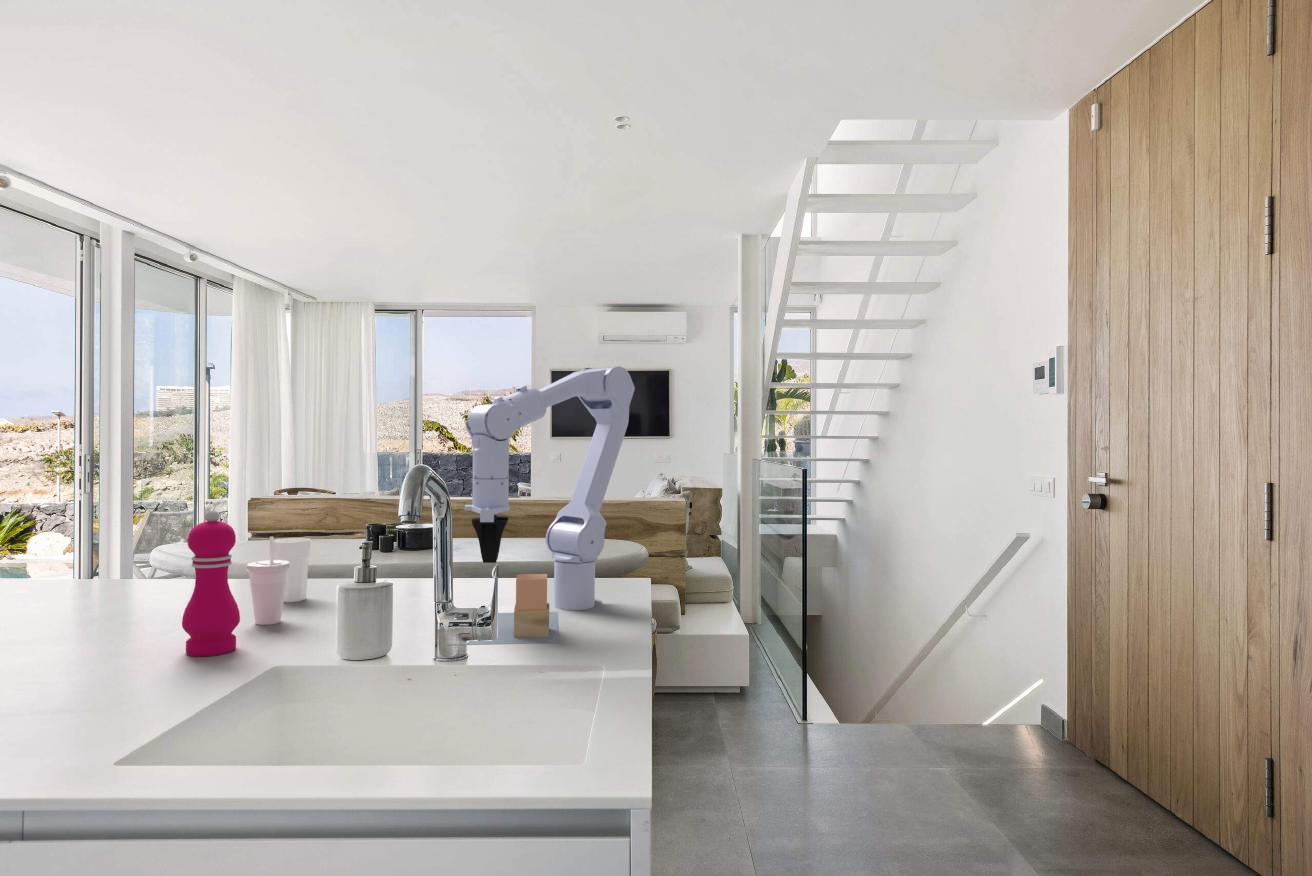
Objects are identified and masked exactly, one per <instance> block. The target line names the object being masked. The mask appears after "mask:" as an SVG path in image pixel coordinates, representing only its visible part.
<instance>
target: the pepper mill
mask: <svg viewBox="0 0 1312 876" xmlns="http://www.w3.org/2000/svg"><path fill="white" fill-rule="evenodd" d="M219 518H220V514H219V512H218V511H216V510H213V509H212V510H210V509H209V510H208V511H207V512H206V513H205V514H204V519H205V521H203V522H200V523H198V524H196V525H194V527H193V528H192V529H190V531H189V534H188V537H187V547H188V549H189V550H190V551H191V552H192V553H193V556H192V557H191V561H192V563H191V564H190V565H191V568H194V571H195V572H194V574H195V581H194V589H193V591H192V593H191V597H190V599H189V601H188V602H187V604H186V606H185V608H184V612H183V615H182V619H181V626H182V629H183V631H184V632H186V634H188V635H189V638H188V639H186V641H185V654H186V655H188V656H191V657H202V658H203V657H212V656H213V657H214V656H220V655H224V654H228V653H230V652H233V651H234V650H235V649H236V648H237V636H236V634H234V633H233V631H234V630H235V629H236V628H237V627H238V625H239V624H240V621H241V614H240V609H239V605H238V603H237V600H235V597H234V595H233V593H232V591H231V589H230V585H229V580H228V579H229V578H228V576H229V574H228V571H229V566H231V565H232V563H233V562H232V560H231V559H232V557H233V556H232V554H231V553H230V552H231V551H232V549H233V548H234V546H235V545H236V542H237V541H236V540H237V538H236V537H237V535H236V533H235V532H236V531H235V530H234V528H233V527H232V526H231V525H230V524H229V523H226V522H223V521H219Z"/></svg>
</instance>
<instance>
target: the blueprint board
mask: <svg viewBox="0 0 1312 876" xmlns="http://www.w3.org/2000/svg"><path fill="white" fill-rule="evenodd" d="M497 613H498V638H497V639H496V640H492V641H469V642H468V643H467V645H466V646H475V645H476V646H480V645H481V646H483V645H518V644H519V645H522V644H523V645H527V644H528V645H529V644H531V645H532V644H559V642H560V641H559V620H558V619H559V618H558V616H559V615H558V611H549V637H519V638H514V612H497Z"/></svg>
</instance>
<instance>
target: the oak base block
mask: <svg viewBox="0 0 1312 876" xmlns="http://www.w3.org/2000/svg"><path fill="white" fill-rule="evenodd" d="M549 612H550V602H547V610H516V603H515V604H514V610H513V613H514V638H519V637H549Z"/></svg>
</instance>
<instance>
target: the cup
mask: <svg viewBox="0 0 1312 876" xmlns="http://www.w3.org/2000/svg"><path fill="white" fill-rule="evenodd" d="M310 553H311V538H308V537H307V538H306V537H287V538H286V537H284V538H276V539H274V540H273V560H284V561H288V562H290V565H289V567H290V568H289V569H288V571H287V578H286V585H285V592H284V599H283V603H295V602H296V603H297V602H301V601H304V600H306V599H307V588H308V570H309V558H310V555H311V554H310Z"/></svg>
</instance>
